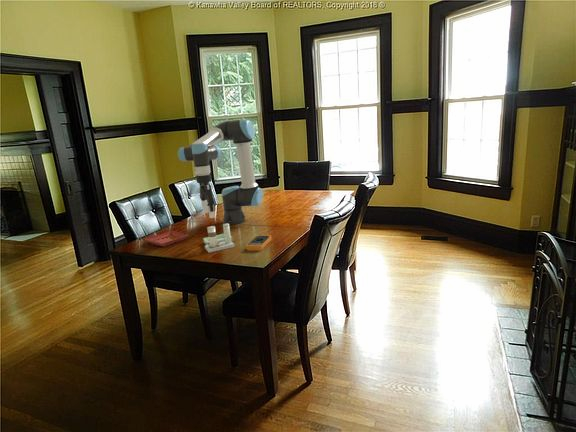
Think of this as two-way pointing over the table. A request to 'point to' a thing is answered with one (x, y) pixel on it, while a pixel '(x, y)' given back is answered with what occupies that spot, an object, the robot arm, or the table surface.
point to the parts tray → (219, 239)
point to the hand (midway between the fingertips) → (209, 215)
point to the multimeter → (258, 243)
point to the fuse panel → (219, 246)
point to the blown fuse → (212, 237)
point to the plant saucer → (166, 240)
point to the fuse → (227, 233)
